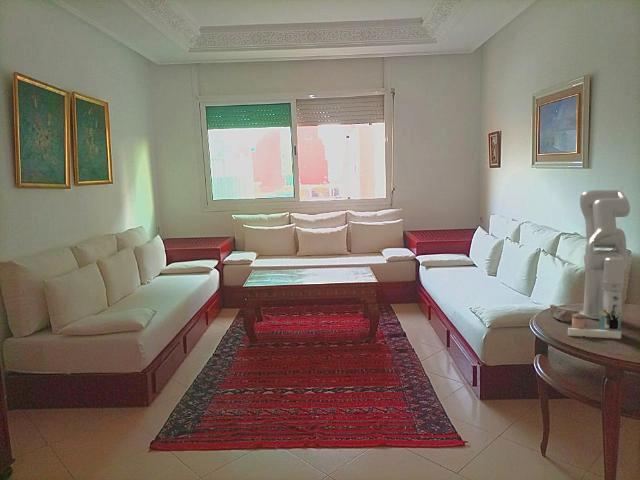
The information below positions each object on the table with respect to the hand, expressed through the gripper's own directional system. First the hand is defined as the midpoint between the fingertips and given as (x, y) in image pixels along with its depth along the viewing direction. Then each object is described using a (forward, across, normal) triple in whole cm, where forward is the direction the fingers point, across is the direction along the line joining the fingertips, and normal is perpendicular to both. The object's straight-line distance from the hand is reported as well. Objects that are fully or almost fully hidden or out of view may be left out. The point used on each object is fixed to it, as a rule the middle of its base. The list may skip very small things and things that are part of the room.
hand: (610, 324), depth 210 cm
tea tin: (+4, 0, 0) cm, 4 cm away
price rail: (+4, -4, +7) cm, 9 cm away
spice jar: (+4, -1, +12) cm, 13 cm away
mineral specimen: (+4, +17, +15) cm, 23 cm away
